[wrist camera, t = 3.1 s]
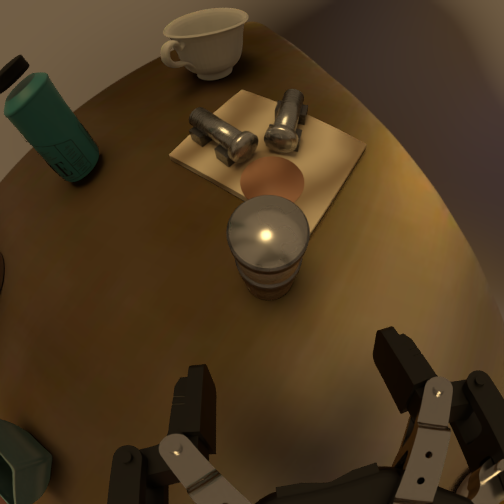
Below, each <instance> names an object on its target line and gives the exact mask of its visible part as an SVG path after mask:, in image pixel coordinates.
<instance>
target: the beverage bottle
mask: <svg viewBox="0 0 504 504" xmlns="http://www.w3.org/2000/svg"><path fill="white" fill-rule="evenodd" d="M28 67H29V64H28V62H26V60H25V59H24V58H23V56H22V55H18V56H17V57H15V58H14V59H12V60H11V61H10V62H9V63H8V64H6V65H5V66H4V67H3V68H2V69H1V70H0V94H1V93H2V92H4V91H5V90H7V89H8V88H9V87H10V86H11V85H12V84H13V83H15V82H16V81H17V79H19V78H20V77H21V76H22V75H23V74H24V72H25V71H26V70H27V69H28ZM74 113H75V112H74ZM74 113H73V112H72V111H71V109H70V108H69V107H68V105H67V104H66V103H65V101H64V100H63V98H62V97H61V95H60V94H59V92H58V91H57V90H56V88H55V86H54V85H53V83H52V82H51V80H50V79H49V76H48V74H46V73H32V74H30V75H29V76H27V77H26V78H25V79H23V80H22V81H21V82H20V83H19V84H18V85H17V86H16V87H15V88H14V89H13V90H12V91H11V93H10V94H9V95H8V97H7V99H6V102H5V108H4V115H5V116H6V117H7V118H8V119H9V120H10V121H11V122H12V123H13V125H14V126H15V127H16V128H17V129H18V130H19V131H20V133H21V134H22V135H23V136H24V137H25V139H26V140H27V141H28V142H29V143H30V145H32V146H33V147H34V148H35V150H36V151H37V152H38V153H39V154H40V155H41V157H43V158H44V159H45V161H47V162H48V163H49V164H50V165H49V164H48V163H47V162H46V163H47V164H48V165H49V166H50V167H51V168H52V169H53V170H54V169H55V170H56V171H55V170H54V171H55V172H56V173H57V172H58V173H59V174H60V175H61V177H63V178H62V179H65V181H69V182H76V181H79V180H81V179H82V178H84V177H85V176H86V175H87V174H89V173H90V172H91V170H92V169H93V168H94V167H95V165H96V163H97V161H98V158H99V150H98V147H97V145H96V144H95V143H94V141H93V139H91V138H92V137H91V136H90V134H89V133H88V131H86V130H87V129H85V127H83V125H82V124H81V123H82V122H81V123H80V122H79V121H78V119H77V117H76V116H75V115H74ZM39 154H38V155H39ZM58 173H57V174H58ZM59 174H58V175H59ZM60 175H59V176H60Z"/></svg>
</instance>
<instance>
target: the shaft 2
mask: <svg viewBox="0 0 504 504" xmlns="http://www.w3.org/2000/svg"><path fill="white" fill-rule="evenodd" d="M303 101H304V95H303V94H302V93H301V92H300V91H299V90H296V89H289V90H287V91H286V92H285V93H284V96H283V99H282V101H279V100H278V102H277V105H276V108H275V122H274V125H273V124H269V127H268V129H267V130H266V133H265V135H264V142H265V144H266V146H268V147H269V148H270V149H272V150H274V151H276V152H280V153H289V152H292V151H295V152H298V151H299V146H300V142H301V137H302V130H301V129H296V128H297V124H301V125H305V121H306V117H307V111H308V105H303Z"/></svg>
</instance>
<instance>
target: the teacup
mask: <svg viewBox="0 0 504 504" xmlns="http://www.w3.org/2000/svg"><path fill="white" fill-rule="evenodd" d="M247 20H248V14H247V13H245V12H244V11H242V10H238V9H232V8H213V9H206V10H201V11H197V12H193V13H190V14H187V15H184V16H182V17H179V18H177V19H175V20H174V21H172V22H170V23H169V24H168V25H167V26H166V28H165V29H164V31H163V34H164V35H165V36H167V37H169V38H170V39H171V40H170V41H167V42H166V43H165V44H164V45H163V46H162V48H161V54H160V55H161V60H162V62H163V63H164V64H165V65H166V66H168V67H171V68H179V67H182V66H185V68H187V69H188V70H189V71H191V72H193V73H197V76H198V77H199V78H200V79H203V80H217V79H221V78H224V77H226V76H228V75H229V74H230V73H231V72H232V70H233V67H232V66H234V65H235V64H236V63H237V62H238V61H239V59H240V57H241V53H242V43H243V27H244V23H245V22H246V21H247ZM172 47H173V48H174V49H175V50H176V51H177V53H178V56H179V58H180V60H181V61H178V62H173V61H172V60H171V58H170V50H171V49H172Z"/></svg>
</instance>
